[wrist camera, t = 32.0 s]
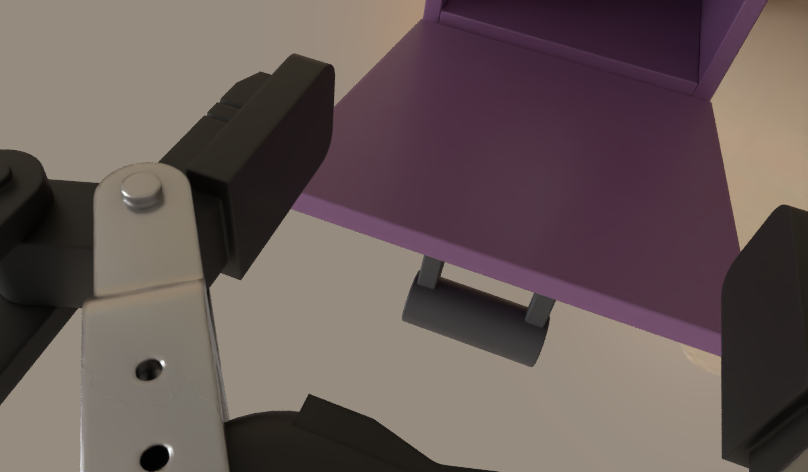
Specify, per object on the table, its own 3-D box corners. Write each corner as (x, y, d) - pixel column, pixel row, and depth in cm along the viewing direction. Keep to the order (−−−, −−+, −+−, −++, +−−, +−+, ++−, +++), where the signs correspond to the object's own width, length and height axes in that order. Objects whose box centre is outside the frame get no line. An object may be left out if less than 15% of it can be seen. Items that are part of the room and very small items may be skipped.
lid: (260, 179, 20) (256, 305, 23) (760, 348, 17) (673, 459, 21) (420, 18, 33) (403, 112, 37) (712, 102, 31) (664, 193, 34)
